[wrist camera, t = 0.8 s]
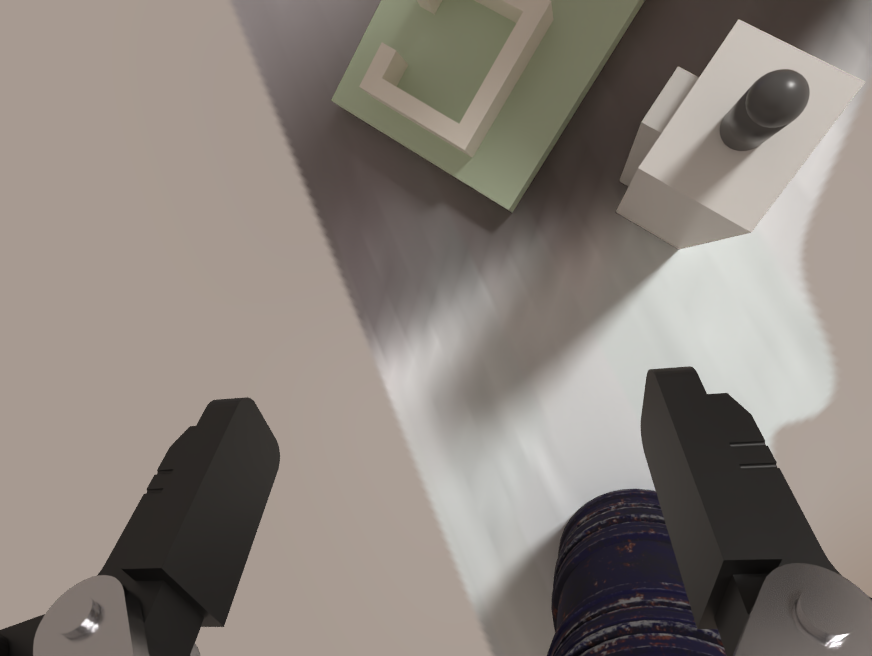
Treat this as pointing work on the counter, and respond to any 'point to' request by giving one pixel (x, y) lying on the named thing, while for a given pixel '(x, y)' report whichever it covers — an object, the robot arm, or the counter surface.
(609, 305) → the counter surface
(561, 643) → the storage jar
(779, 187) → the plug
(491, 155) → the board
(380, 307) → the counter surface
